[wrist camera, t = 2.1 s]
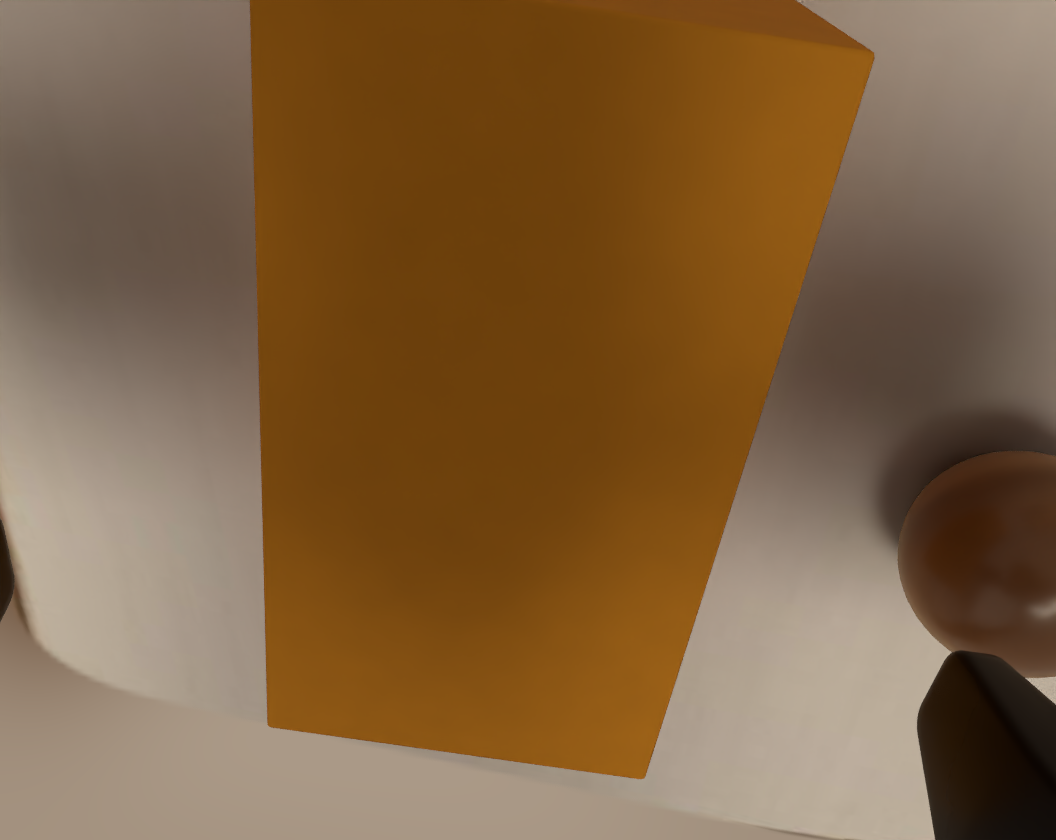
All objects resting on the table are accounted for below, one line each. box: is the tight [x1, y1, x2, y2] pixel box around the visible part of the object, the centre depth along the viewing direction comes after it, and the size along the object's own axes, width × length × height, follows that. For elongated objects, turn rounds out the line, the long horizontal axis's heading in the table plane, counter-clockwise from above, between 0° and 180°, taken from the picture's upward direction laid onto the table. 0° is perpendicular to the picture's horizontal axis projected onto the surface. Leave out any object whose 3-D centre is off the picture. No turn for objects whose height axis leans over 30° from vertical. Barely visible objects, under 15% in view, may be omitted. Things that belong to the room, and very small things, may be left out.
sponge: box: [250, 0, 874, 779], centre depth 13 cm, size 10×6×5 cm, turn 172°
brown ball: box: [898, 451, 1056, 678], centre depth 15 cm, size 4×4×4 cm
